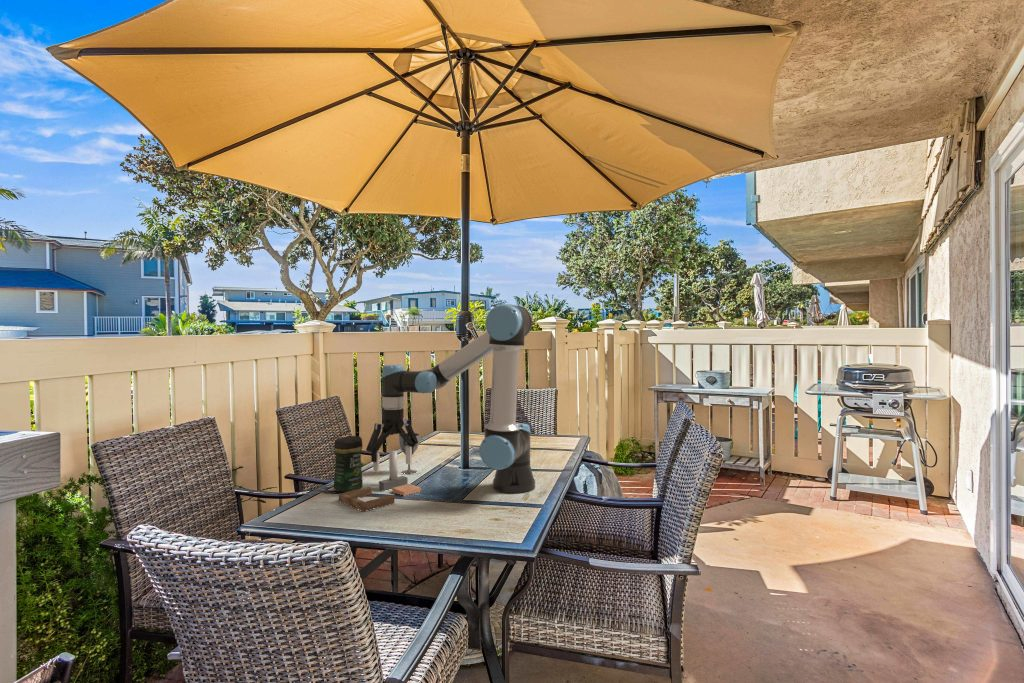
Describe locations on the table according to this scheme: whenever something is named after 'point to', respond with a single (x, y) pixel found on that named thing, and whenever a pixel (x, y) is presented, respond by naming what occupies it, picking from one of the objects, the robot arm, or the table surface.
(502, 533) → the table surface
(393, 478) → the scraper
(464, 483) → the table surface
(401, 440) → the wine glass
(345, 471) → the coffee jar
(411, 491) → the tile
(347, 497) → the frame
